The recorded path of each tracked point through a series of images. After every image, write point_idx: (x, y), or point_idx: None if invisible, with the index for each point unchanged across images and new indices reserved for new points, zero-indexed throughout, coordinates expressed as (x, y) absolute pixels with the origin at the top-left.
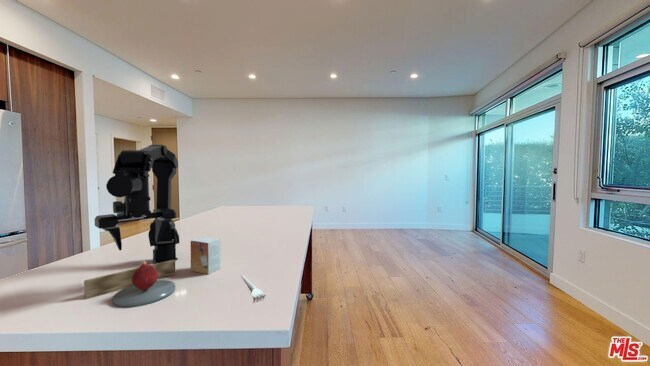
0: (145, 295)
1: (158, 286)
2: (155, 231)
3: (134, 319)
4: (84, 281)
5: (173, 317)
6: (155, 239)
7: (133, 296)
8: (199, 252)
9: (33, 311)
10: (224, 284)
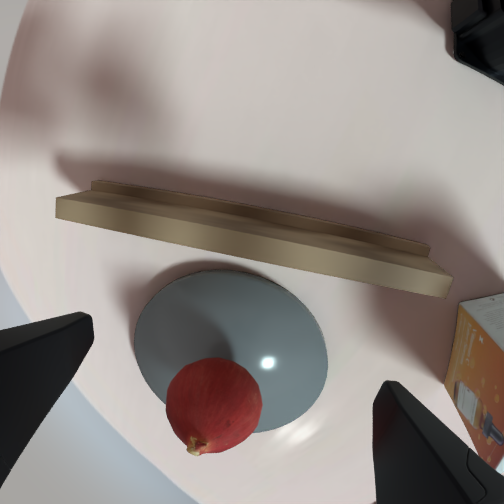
0: None
1: (271, 376)
2: (431, 455)
3: (156, 439)
4: (57, 206)
5: (210, 482)
6: (391, 400)
7: None
8: (487, 407)
9: (17, 181)
10: None
